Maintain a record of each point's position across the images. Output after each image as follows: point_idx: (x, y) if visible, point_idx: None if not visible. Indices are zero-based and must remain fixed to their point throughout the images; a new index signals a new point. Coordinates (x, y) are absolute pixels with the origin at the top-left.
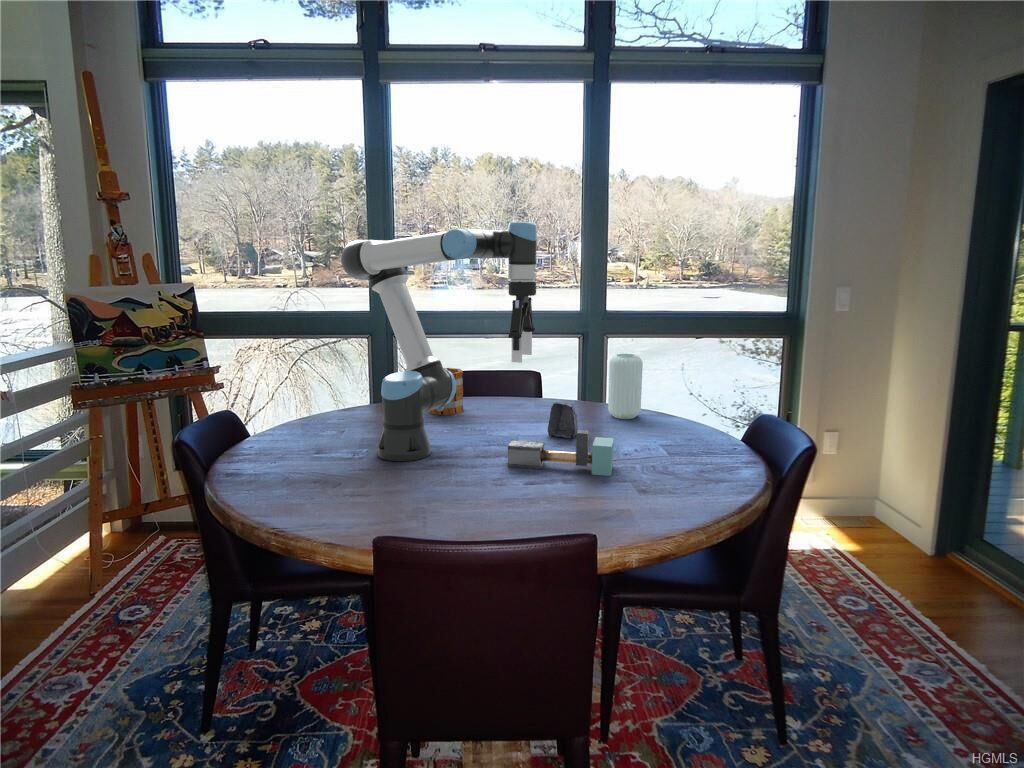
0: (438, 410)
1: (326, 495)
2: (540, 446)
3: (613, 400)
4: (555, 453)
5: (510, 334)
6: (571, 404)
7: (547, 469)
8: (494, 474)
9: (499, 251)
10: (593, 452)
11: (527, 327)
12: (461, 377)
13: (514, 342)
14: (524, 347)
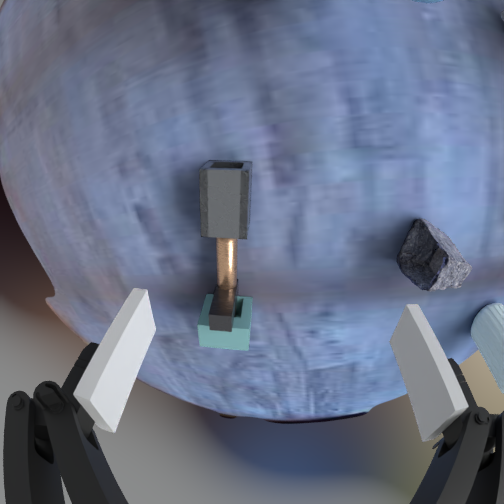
0: (501, 15)
1: None
2: (212, 235)
3: (493, 323)
4: (218, 255)
5: (11, 399)
6: (452, 286)
7: None
8: (164, 146)
9: None
10: (200, 317)
11: (441, 457)
12: None
13: (70, 381)
14: (415, 343)
